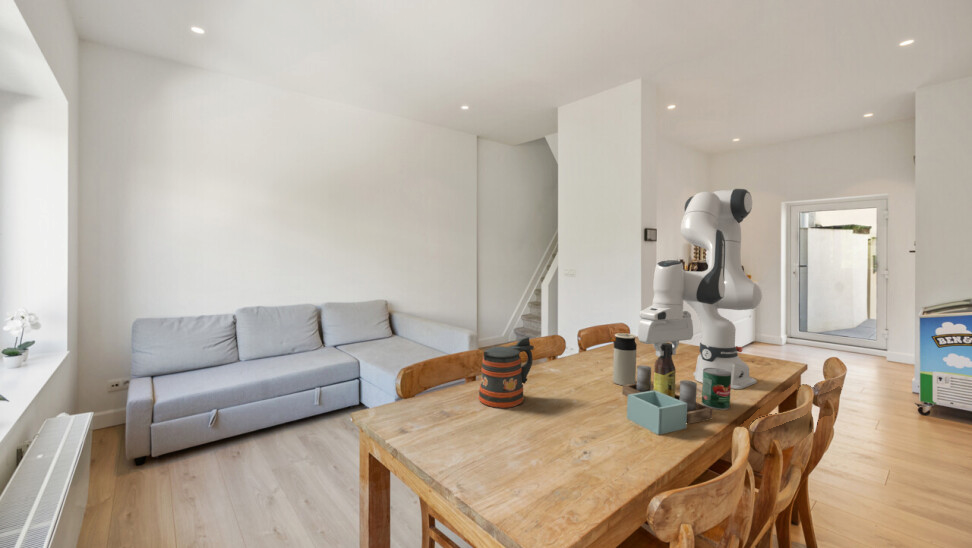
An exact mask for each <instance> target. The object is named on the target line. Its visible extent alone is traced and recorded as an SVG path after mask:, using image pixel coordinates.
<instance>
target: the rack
mask: <svg viewBox="0 0 972 548" xmlns="http://www.w3.org/2000/svg"><path fill="white" fill-rule="evenodd" d="M651 380H652V367H651V366H649V365H640V364H639V365H636V382H635V384H628V385H623V386H622V395H624V396H625V397H628V395H629V394H635V393H641V392H647V391H653V388H654V384H652V383H651V382H652V381H651ZM697 388H698V387H697V382H695V381H692V380H687V379H686V380H685V379H684V380H680V381H679V394H676V393H675V399H677V400H680V401H682V402H685V403H687V422H686V423H687V424H686V425H691V424H695V423H699V421H700V422H704V421H708V420H712V419H713V408H709V407H707V406H704V405H703V404H702V403H698V402H697ZM711 418H712V419H711ZM707 419H708V420H707ZM703 420H704V421H703ZM694 422H695V423H694ZM690 423H691V424H690Z"/></svg>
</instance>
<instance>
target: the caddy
mask: <svg viewBox="0 0 972 548" xmlns="http://www.w3.org/2000/svg"><path fill="white" fill-rule="evenodd" d="M626 403H627V406H626V419H628V421H631V422H633V423H636V424H637V425H639V426H640V427H643V428H645V429H646V430H648V431H650V432H653V434H655V435H659V436H660V435H662V434H663V435H664V434H667V433H673V432H676V431H681V430H685V429H687V424H686V422H687V403H685V402H682V401H680V400H677V399H675V398H672V397H670V396H668V395H665V394H663V393H660V392H658V391H655V390H653V391H647V392H641V393H635V394H629V395H628V396H627V401H626Z"/></svg>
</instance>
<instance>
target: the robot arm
mask: <svg viewBox="0 0 972 548" xmlns="http://www.w3.org/2000/svg"><path fill="white" fill-rule="evenodd" d="M752 207H753V198H752V195H751V192H749V191H748V189H744V188H734V189H723V190H722V189H721V190H715V191H700V192H697V193H696V194H694V195H692V196H690V197H688V199H687V200H686V201H685V204H684V213H683V217H682V220H681V223H680V234H681V236H682V237H683V239H685V240H686V241H687V243H688V244H689V243H690V244H691V245H693V246H696V247H699V248H701V249H704V250H706V254H705V255H706V256H705V262H706V264H707V265H708V266H707V269H705V270H703V271H695V270H693V271H692V270H691V271H690V270H688V271H687V270H684V264H683V262H682V261H679V260H672V259H671V260H661V261H659V262H657V263H656V265H655V268H654V272H653V273H654V274H653V283H652V290H653V298H652V303H651V305H649V306H647V307H646V308H644V309H642V310H640V311H639V318H641V319H640V320H639V321H638V322H639V323H638V329H637V330H638V332H637V337H638V338H637V339H638V341H639V342H640V343H642V344H645V345H652V346H653V348H654V349H655V356H656V357H657V358H659V357H661V356H664V351H662V350H661V347H660V346H662V343H671V344H672V356H675V355H676V352H677V349H678V347H679V345H680V341H691V340H692V339H693V337H694V326H693V325H694V324H693V320H692V314H691V312H689V311H687V310H684V301H685V303H686V304H687V305H689V306H690V307H691V308H692V309H693V310H694V312H695V313H696V315H697V317H698V319H699V321H700V330H701V331H700V332H701V335H700V336H701V337H700V338H701V340H700V343H699V347H698V348H699V353H700V354H698V356H697V361H696V366H695V371H693V374H692V375H693V376H694V379H695V380H696V381H697V382H700V383H702V384H703V369H704V368H718V369H723V370H727V371H729V372H731V388H730V389H734V390H742V389H745V388H748V387H749V386H752V385H754V384H757V383H758V381H757V379H756V378H753V377H752V376H750V367H749V365H748V364H747V363H746V362H744V360H742V359H741V358H740V357H739V354H738V353H742V352H743V350H744V349H743V347H742V346H737V345H736V329H737V328H736V326H735V324H734V323H733V322H732V321H731V320H729V319H727V318H725V317H724V316H723V315H721V314H720V313H719V309H721V310H722V309H723V310H733V311H734V310H735V311H747V310H754V309H756V308H758V306H759V304H760V303H761V300H762V298H763V297H762V290H761V289H760V288H761V287H759V285H758V284H757V283H756V282H754V281H753V280H751V279H750V277H748V276H747V275H746V272H745V271H744V269H743V267H742V263H741V249H742V229H741V223H742V222H743V221H744V219H745V218H747V217H748V216H749V214H751V211H752ZM735 345H736V346H735Z"/></svg>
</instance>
